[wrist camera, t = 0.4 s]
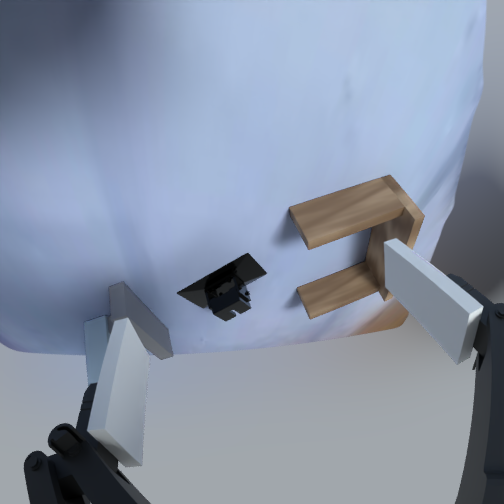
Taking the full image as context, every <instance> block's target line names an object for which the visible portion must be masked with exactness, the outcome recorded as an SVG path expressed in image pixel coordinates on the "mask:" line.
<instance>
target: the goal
mask: <svg viewBox="0 0 504 504" xmlns="http://www.w3.org/2000/svg"><path fill="white" fill-rule="evenodd" d="M289 209H290V216H291V218H292V220H293V222H294V224H295V226H296V228H297V229H298V231H299V233H300V235H301V237H302V239H303V241H304V243H305V244H306V246H307V248H308V250H310V249H313V248H316V247H319V246H321V245H324V244H327V243H330V242H332V241H335V240H338V239H340V238H343V237H346V236H349V235H351V234H354V233H357V232H359V231H362V230H365V229H367V228H370V227H372V230H371V235H370V240H369V245H368V250H367V254H366V259H365V261H364V262H362V263H359V264H357V265H354V266H352V267H349V268H347V269H344V270H342V271H339V272H337V273H334V274H331V275H329V276H326V277H324V278H321V279H318V280H316V281H313V282H311V283H308V284H305V285H303V286H300V287H297V292H298V294H299V296H300V299H301V301H302V303H303V305H304V308H305V310H306V312H307V314H308V317H309V319H313V318H315V317H318V316H320V315H323V314H325V313H328V312H330V311H333V310H335V309H338V308H340V307H342V306H345V305H347V304H350V303H352V302H354V301H357V300H359V299H362V298H364V297H366V296H368V295H371V294H373V293H375V292H378V291H379V293H380V295H381V296H382V298H383V300H384V302H385V301H387V300H389V299H391V298H392V297H393V295H392V294H391V293H390V291H389V290H388V289H387V288H386V287H385V259H384V242H386V241H389V240H392V239H395V238H397V239H398V240H399V241H401V242H402V243H404V244H405V245H406V246H408V247H409V248H410V249H413V247H414V244H415V242H416V239H417V236H418V234H419V231H420V228H421V225H422V222H423V220H424V217H425V215H424V214H423V213H422V212H421V210H420V209H419V208H418V207H417V206H416V204H415V203H414V202H413V201H412V199H411V198H410V197H409V196H408V195H407V193H406V192H405V191H404V190H403V189H402V188H401V186H400V185H399V184H398V183H397V182H396V181H395V180H394V178H393V177H392V176H391V175H388V176H385V177H381V178H378V179H375V180H372V181H369V182H365V183H362V184H359V185H356V186H353V187H350V188H347V189H343V190H340V191H337V192H334V193H331V194H328V195H325V196H322V197H319V198H316V199H313V200H310V201H307V202H304V203H301V204H298V205H295V206H292V207H289Z"/></svg>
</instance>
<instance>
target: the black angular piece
mask: <svg viewBox="0 0 504 504" xmlns="http://www.w3.org/2000/svg"><path fill="white" fill-rule="evenodd" d="M266 274H267V273H266V271H265V270H264V269H263V268H262V267H261V266H260V265H259V264H258V263H257V262H256V261H255V260H254V259H253V257H252V256H251V255H250V254H249V253H246V254H244V255H243V256H241V257H239V258H237V259H235V260H234V261H232V262H230V263H228V264H227V265H225V266H223V267H221V268H220V269H218V270H216V271H214V272H213V273H211V274H209V275H207V276H205V277H204V278H202V279H200V280H198V281H197V282H195V283H193V284H191V285H190V286H188V287H186V288H184V289H182V290H181V291H179V292H177V294H179V295H180V296H182V297H184V298H186V299H187V300H189V301H191V302H193V303H194V304H196V305H198V306H200V307H201V308H205V307H207V306H209V309H211V310H212V312H213V315H215V316H217V317H219V318H220V319H222V320H224V321H228V320H230V319H232V318H234V317H236V313H235V312H233V311H231V310H235V311H237V312H238V313H240V314H241V313H243V312H245V311H247V310H249V309H251V306H250V303H249V301H251V299H250V296H249V295H250V293H249V291H247V288H246V285H248V284H249V283H251V282H253V281H255V280H257V279H258V278H260V277H262V276H264V275H266Z"/></svg>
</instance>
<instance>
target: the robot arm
mask: <svg viewBox="0 0 504 504" xmlns="http://www.w3.org/2000/svg"><path fill="white" fill-rule="evenodd" d="M384 259H385V287H386V288H387V289H388V290H389V291H390V293H391V294H392V295H393V296H394V297H395V298H396V299H397V300H398V301H399V302H400V303H401V304H402V305H403V306H404V307H405V308H406V309H407V310H408V311H409V312H410V313H411V315H413V317H414V318H415V319H416V320H417V321H418V322H419V323H420V324H421V325H422V326H423V327H424V328H425V330H426V331H427V332H428V333H429V334H430V335H431V336H432V337H433V338H434V339H435V340H436V342H437V343H438V344H439V345H440V346H441V347H442V348H443V349H444V351H445V352H446V353H447V354H448V355H449V356H450V357H451V359H452V360H453V361H454V362H455V363H456V364H457V365H458V364H459V363H461V362H463V361H464V360H466V359H468V358H470V355H471V352H472V349H473V347H474V348H475V349H476V350H477V351H478V353H477V357H476V360H475V363H474V366H473V370H474V369H475V367H476V378H475V393H474V405H473V414H472V423H471V430H470V437H469V443H468V449H467V456H466V461H465V466H464V471H463V475H462V480H461V484H460V488H459V492H458V496H457V499H456V502H455V504H504V304H503V303H497V304H493V303H492V302H491V301H490V300H488V299H487V298H486V297H485V296H484V295H482V294H481V293H480V292H478V291H477V290H476V289H474V288H473V287H472V286H471V285H470V284H469V285H468V283H467V282H466V281H464V280H463V279H462V278H461V277H458V276H456V275H453V274H449V275H445V274H443V273H442V272H441V271H439V270H438V269H437V268H436V267H434V266H433V265H432V264H430V263H429V262H428V261H426V260H425V259H424V258H422V257H421V256H420V255H418V254H417V253H416V252H414V251H413V250H412V249H410V248H409V247H408V246H406V245H405V244H404V243H402V242H401V241H399V240H398V239H397V238H395V239H392V240H389V241H386V242H384ZM149 365H150V356H149V355H148V353H147V351H146V349H145V348H144V346H143V344H142V342H141V340H140V339H139V337H138V335H137V333H136V331H135V330H134V328H133V326H132V324H131V322H130V320H129V318H124V319H120V320H116V321H115V322H114V325H113V328H112V332H111V335H110V338H109V342H108V346H107V349H106V353H105V356H104V360H103V364H102V368H101V372H100V376H99V380H98V382H97V383H91V384H90V385H89V387H88V388H87V390H86V391H85V393H84V397H83V401H82V403H83V404H82V405H81V409H80V410H81V411H80V413H79V417H78V422H77V426H76V429H75V428H74V427H73V426H72V425H70V424H67V423H64V424H60V425H58V426H56V427H55V428H54V429H53V430H52V431H51V433H50V435H49V437H48V445H49V447H50V448H52V450H54V451H55V452H56V453H57V454H54V455H51V456H46V455H45V454H44V453H43V452H42V451H34V452H32V453H31V454H30V455H28V457H27V458H26V460H25V462H24V473H25V479H26V485H27V490H28V495H29V500H30V504H90V502H91V503H92V504H150V502H149V501H148V500H147V499H146V498H145V497H144V496H143V495H142V494H141V493H140V492H139V491H138V490H137V489H136V488H135V487H134V486H133V484H132V483H131V482H130V481H129V480H128V479H127V478H126V477H125V475H124V474H123V473H122V472H121V471H120V470H119V469H118V461H119V462H120V463H122V464H123V465H124V466H125V467H134V466H142V458H143V438H144V421H145V408H146V396H147V385H148V375H149Z"/></svg>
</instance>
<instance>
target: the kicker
mask: <svg viewBox="0 0 504 504" xmlns="http://www.w3.org/2000/svg"><path fill="white" fill-rule="evenodd" d="M109 299H110V314H111V316H109V317H107V316H106V315H104V316H101V317H98V318H95V319H92V320H89V321H86V322H84V335H85V352H86V365H87V377H88V386H89V385H90V384H91V383H97V382H98V380H99V376H100V372H101V368H102V364H103V360H104V356H105V353H106V349H107V346H108V342H109V338H110V335H111V332H112V328H113V325H114V322H115V321H116V320H120V319H124V318H129V320H130V322H131V324H132V326H133V328H134V330H135V331H136V333H137V335H138V337H139V339H140V340H141V342H142V344H143V346H144V347H145V348H146V349H147V350H149V351H150V352H151V353H153V354H154V355H155V356H157V357H158V358H159V359H161V360H163V359H166V358H169V357H172V356H173V351H172V346H171V342H170V337H169V332H168V329H167V328H166V327H165V326H164V324H163V323H162V322H161V321H160V320H159V319H158V318H157V317H156V316H155V315H154V314H153V313H152V312H151V311H150V310H149V309H148V308H147V307H146V306H145V305H144V304H143V303H142V301H141V300H140V299H139V298H138V297H137V296H136V295H135V294H134V293H133V292H132V291H131V289H130V288H129V287H128V286H127V285H126V284H125V283H124V282H121V283H118V284H115V285H112V286H110V287H109Z"/></svg>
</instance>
